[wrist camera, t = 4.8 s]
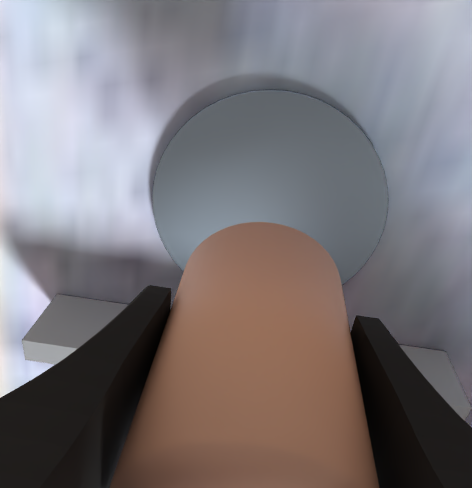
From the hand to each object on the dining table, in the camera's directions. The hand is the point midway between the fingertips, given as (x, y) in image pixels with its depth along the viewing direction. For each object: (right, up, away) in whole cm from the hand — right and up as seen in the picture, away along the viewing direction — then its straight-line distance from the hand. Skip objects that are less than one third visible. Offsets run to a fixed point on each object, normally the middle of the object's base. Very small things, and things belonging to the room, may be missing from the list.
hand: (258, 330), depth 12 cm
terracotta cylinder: (0, +1, +2) cm, 2 cm away
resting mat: (+1, +4, +7) cm, 8 cm away
